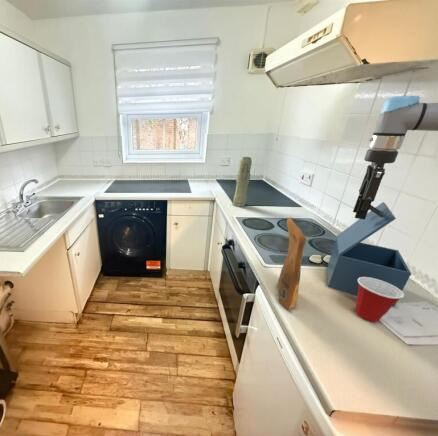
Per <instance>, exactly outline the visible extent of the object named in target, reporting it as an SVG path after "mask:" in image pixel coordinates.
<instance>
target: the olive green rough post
mask: <svg viewBox="0 0 438 436" xmlns="http://www.w3.org/2000/svg"><path fill="white" fill-rule="evenodd" d="M252 164H253V161H252V157H250V156H242V157H241V159H240V161H239V165H238V172H237V174H236V181H235V182H236V186H235V190H234V191H235V192H234V195H233V203H232V205H233V206H234V207H238V208H244V207H246V203H247V198H248V197H247V194H248V188H249V184H250V180H251V169H252Z"/></svg>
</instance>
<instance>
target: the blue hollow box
mask: <svg viewBox="0 0 438 436" xmlns="http://www.w3.org/2000/svg"><path fill="white" fill-rule="evenodd" d="M326 267H327V287H328V288H331V289H334V290H338V291H341V292H344V293H347V294H350V295H354V296H357V295H358V281H357V279H358V278H359V277H370V278H375V279H379V280H382V281H384V282H387V283H389V284H391V285H393V286H395V287H397V288H398V289H400V290H401V291H402V292H403V291H404V288H405V287H406V285H407V283H408V281H409V279H410V277H411V275H412V272H411V270H410V269H409V266H408V265H407V263H406V262H405V259H404V258H403V257H402V254H401V252H400V251H399V249H394V248H390V247H385V246H380V245H375V244H370V243H365V242H360V243H359V244H357V245H356V246H354V247H353V248H351V249H350V250H348V251H347V252H345V253H344V254H342V255H341V256H340V255H339V252H338V243H337V238H336V240H335V242H334V245H333V248H332V251H331V254H330V257H329V260H328V263H327V266H326ZM396 304H397V302H396V303H395V304H394V305H393V306H392V308H394V307H395V306H396Z"/></svg>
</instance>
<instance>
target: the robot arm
mask: <svg viewBox="0 0 438 436" xmlns="http://www.w3.org/2000/svg"><path fill="white" fill-rule="evenodd" d="M420 100H421V97H420V96H419V95H397V96H390V97H388V98H387V99H385V100H384V103H383V105H382V108H381V110H380V112H379V114H378V118H377V120H376V124H375V127H374V130H373V132H372V136H371V137H369V138H368V142H369V144H368V148H369V149H367V150H366V154H365V156H364V158H363V160H364V161H365V162H369V163H370V164H368V166H367V167H366V171H365V174H364V176H363V178H362V182H361V185H360V186H359V189H358V194H359V195H358V196H357V199H356V201H355V204H354V207H353V210H352V213H355V215H354V218H355V219H357V220H359V219H364V220H365V218H366V215H367V213H369V211H370V210H369V207H370V205H372V203H373V202H374V201H375V200H376V196H377V194H378V191H379V188H380V185H381V183H382V180H383V177H384V175H385V174H386V173H385V172H386V168H384V167H385V165H386V164H393V163H395V162H396V159H397V157H398V155H399V152H398V150H401V148H402V146H403V142H404V140H405V137H406V134H407V133H408V131H428V132H429V131H431V132H438V102H420Z"/></svg>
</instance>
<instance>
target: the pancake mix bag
mask: <svg viewBox="0 0 438 436" xmlns="http://www.w3.org/2000/svg"><path fill="white" fill-rule="evenodd" d="M286 225H287V232H288V239H289V240H288V248H287V249H288V250H287V254H286V257H285V259H284V262H283V265H282V267H281V270H280V274H279V277H278V280H277V291H278V299H279V304H280V305H281V306H282V307H283V308H285V310H287V311H289V312H290V311H291V309H293V308H295V306H296V303H297V300H298V298H299V297H298V295H299V288H300V280H301V271H302V261H303V257H304V256H303V255H304V252H305V247H306V244H307V242H308V240H307V238H306V236H305V234H304V233H303V231H302V230H301V228H300V227H299V226H298V225H297V224H296V223H295V221H294V220H293V218H292V217H291V216H290V217H289V218H287V220H286Z"/></svg>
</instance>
